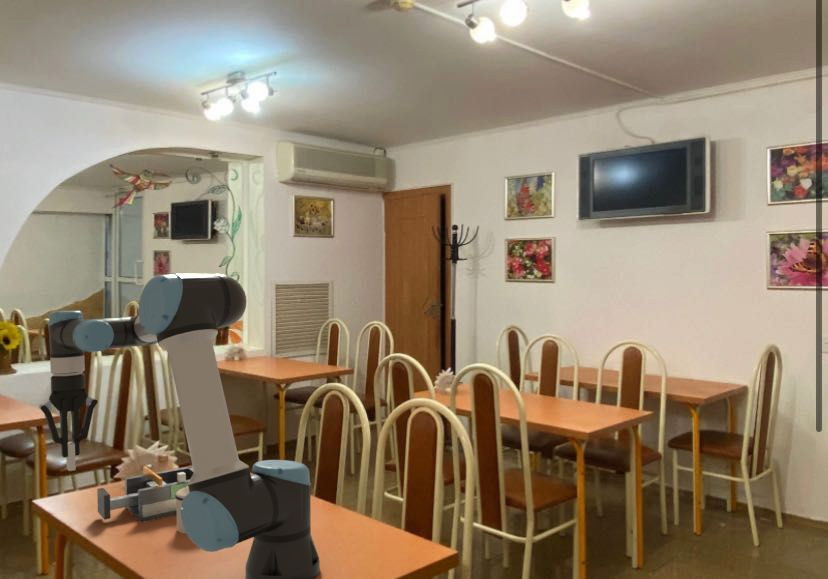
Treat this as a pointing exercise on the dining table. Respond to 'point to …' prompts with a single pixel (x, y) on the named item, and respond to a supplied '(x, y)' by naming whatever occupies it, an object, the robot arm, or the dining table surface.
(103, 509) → the grey t-handle block
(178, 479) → the marker
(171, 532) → the dining table surface
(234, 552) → the dining table surface
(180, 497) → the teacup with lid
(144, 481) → the gauge housing
